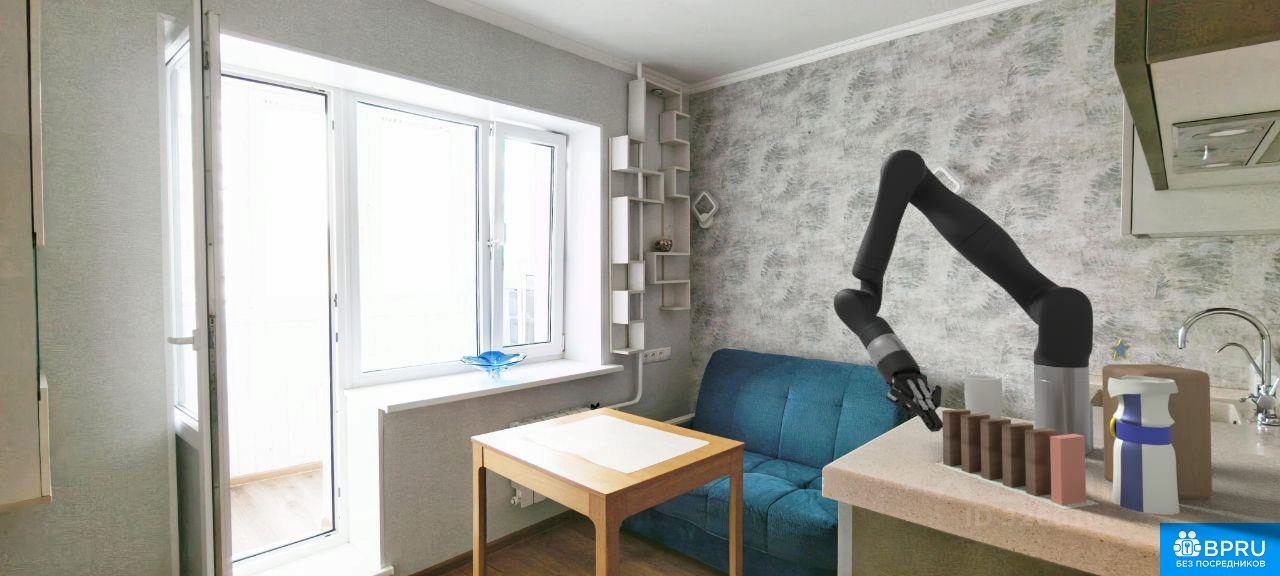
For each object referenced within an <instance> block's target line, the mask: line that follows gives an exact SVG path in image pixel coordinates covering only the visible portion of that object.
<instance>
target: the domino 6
mask: <svg viewBox="0 0 1280 576" xmlns="http://www.w3.org/2000/svg"><path fill="white" fill-rule="evenodd" d="M1050 452H1051V502H1053V503H1056V504H1059V505H1068V504H1075V503H1081V502H1086V499H1087V486H1086V485H1087V484H1086V483H1087V482H1086V481H1087V480H1086V478H1087V477H1086V454H1085V436H1082V435H1078V434H1068V435H1059V436H1050Z"/></svg>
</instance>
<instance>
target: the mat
mask: <svg viewBox="0 0 1280 576" xmlns="http://www.w3.org/2000/svg"><path fill="white" fill-rule="evenodd" d="M934 464H936V465H937V466H941V467H943V468H946V469H949V470H951V471H955V472H956V473H957V472H958V473H960V474H963V475H966V476H969V477H972V478H974V479H978V480H980V481H982V482H986V483H989V484H991V485H993V486H998V487H1001V488H1003V489H1005V490H1009V491H1011V492H1014V493H1017V494H1020V495H1023V496H1025V497H1028V498H1030V499H1034V500H1036V501H1040V502H1042V503H1045V504H1048V505H1051V506H1052V507H1053V506H1054V507H1056V508H1059V509H1063V510H1069V509H1075V508H1076V509H1077V508H1082V507H1087V506H1093V505H1095V506H1096V505H1099V502H1095V501H1093V500H1089V499H1087V498H1086V502H1081V503H1075V504H1068V505H1059V504H1056V503H1053V502H1051V494H1048V495H1042V496H1033V495H1030V494H1027V493H1026V486H1022V487H1015V488H1010V487H1007V486H1004V485H1003V479H996V480H987V479H984V478H981V472H975V473H967V472H964V471H962V465H959V466H951V467H950V466H947V465H944V464H943V461H939V462H934Z"/></svg>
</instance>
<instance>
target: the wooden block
mask: <svg viewBox="0 0 1280 576" xmlns="http://www.w3.org/2000/svg"><path fill="white" fill-rule="evenodd" d="M1101 369H1102V371H1101V373H1102V374H1101V375H1102V376H1101V377H1102V378H1101V381H1102V417H1103V420H1102V423H1103V424H1102V425H1103V426H1102V427H1103V428H1102V429H1103V431H1102V432H1103V469H1104V470H1103V472H1104V473H1103V475H1104V478H1105V480H1106V481H1108V482H1111V483H1113V449H1114V442H1115V439H1116V438H1115V437H1114V436H1112V434H1111V432H1110V422H1111V420H1112V418H1113V415H1114V414H1115V413H1116V411H1117V409H1118V406H1119V400H1118V396H1114V397H1112V398H1111V397H1110V394H1109V392H1108V380H1109V378H1114V379H1119V380H1122V379H1121V377H1123V376H1145V377H1155V378H1164V379H1171V380H1174V381H1175V383H1176V386H1177V389H1178V393H1173V394H1170V396H1169V401H1168V411H1169V414H1170V416H1171V418H1172V419H1173V420H1174V424H1172V425H1171V444H1172V446H1173V448H1174V451H1175V456H1176V475H1177V491H1178V500H1179V499H1182V500H1183V499H1185V500H1189V499H1190V500H1204V501H1206V500H1211V498H1212V496H1213V482H1212V481H1213V480H1212V479H1213V478H1212V475H1213V473H1212V469H1213V468H1212V429H1211V425H1212V423H1211V422H1212V421H1211V385H1210V383H1211V381H1210V380H1211V378H1210V376H1209V374H1208V373H1207V372H1206V371H1203V370H1199V369H1198V370H1197V369H1194V368H1193V369H1192V368H1186V367H1179V366H1173V365H1168V364H1159V363H1157V364H1152V363H1151V364H1150V363H1149V364H1142V363H1141V364H1139V363H1138V364H1136V363H1135V364H1131V363H1130V364H1126V363H1125V364H1123V363H1120V364H1118V363H1117V364H1115V363H1114V364H1112V363H1111V364H1107V365H1105V366H1104V365H1103V367H1102V368H1101Z"/></svg>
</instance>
